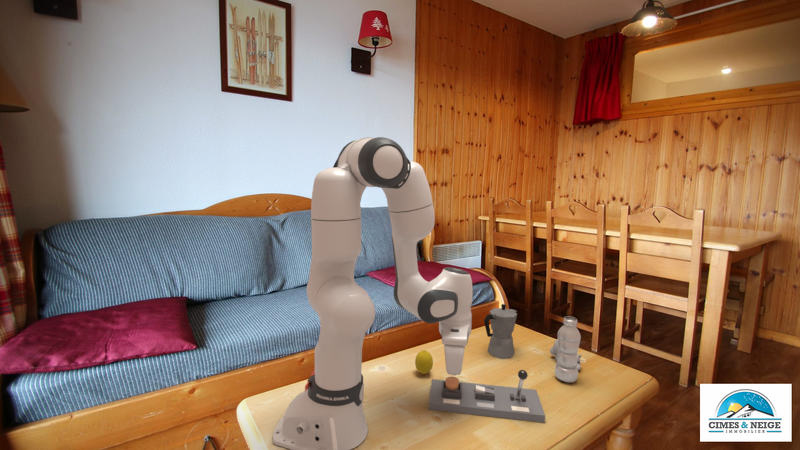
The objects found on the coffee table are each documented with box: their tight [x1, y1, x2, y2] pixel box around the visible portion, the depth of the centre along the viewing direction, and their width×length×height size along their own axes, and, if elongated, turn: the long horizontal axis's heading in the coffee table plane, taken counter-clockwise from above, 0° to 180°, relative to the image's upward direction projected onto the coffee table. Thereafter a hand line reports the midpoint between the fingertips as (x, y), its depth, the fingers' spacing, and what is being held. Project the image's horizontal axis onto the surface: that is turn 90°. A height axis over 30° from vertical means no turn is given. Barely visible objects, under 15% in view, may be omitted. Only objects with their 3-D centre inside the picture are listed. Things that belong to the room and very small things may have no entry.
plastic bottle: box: [554, 315, 582, 384], centre depth 118 cm, size 6×7×20 cm
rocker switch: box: [475, 385, 494, 394], centre depth 106 cm, size 5×2×1 cm, turn 82°
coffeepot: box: [483, 303, 518, 360], centre depth 135 cm, size 15×9×18 cm, turn 122°
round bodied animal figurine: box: [549, 338, 582, 371], centre depth 129 cm, size 7×12×8 cm, turn 13°
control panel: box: [428, 378, 546, 424], centre depth 107 cm, size 30×12×4 cm, turn 81°
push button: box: [445, 376, 460, 390], centre depth 107 cm, size 4×4×2 cm
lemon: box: [414, 349, 434, 375], centre depth 121 cm, size 6×6×8 cm
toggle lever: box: [515, 369, 528, 399], centre depth 102 cm, size 2×2×12 cm
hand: (453, 372), depth 107 cm, fingers closed
